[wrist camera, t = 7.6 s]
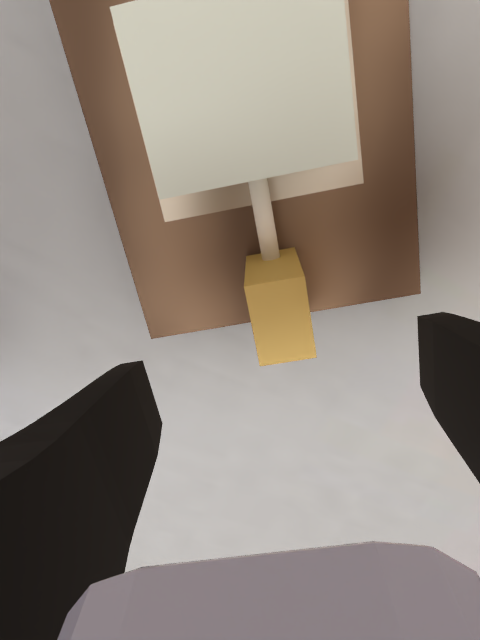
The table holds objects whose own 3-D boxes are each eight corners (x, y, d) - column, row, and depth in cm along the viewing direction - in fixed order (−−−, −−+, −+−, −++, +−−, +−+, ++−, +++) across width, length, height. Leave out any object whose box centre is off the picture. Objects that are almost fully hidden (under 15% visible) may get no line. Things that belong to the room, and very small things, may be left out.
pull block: (214, 329, 19) (204, 374, 16) (145, 38, 15) (109, 7, 11) (351, 306, 19) (374, 348, 15) (317, -4, 14) (339, -52, 11)
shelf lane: (158, 325, 21) (134, 371, 17) (-28, -313, 13) (-157, -517, 9) (409, 282, 20) (449, 320, 16) (371, -451, 12) (432, -761, 8)
